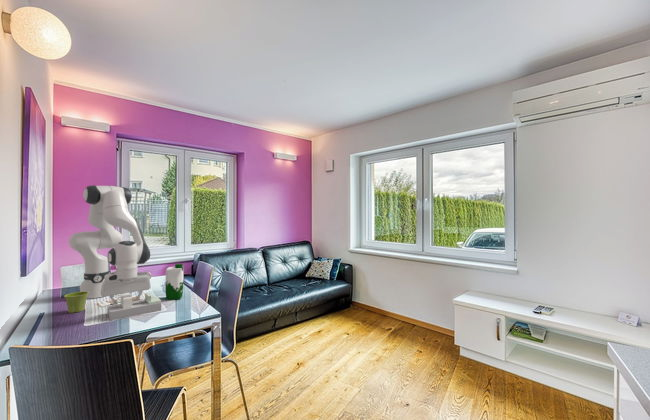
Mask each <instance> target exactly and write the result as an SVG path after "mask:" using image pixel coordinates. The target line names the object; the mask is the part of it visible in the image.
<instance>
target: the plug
mask: <svg viewBox="0 0 650 420" xmlns="http://www.w3.org/2000/svg"><path fill="white" fill-rule="evenodd" d="M132 298H133V296H132V295H131V293H130V294H129V293H125V294H120V304H121V306H122V307H123V309H125V308H130V307H132Z"/></svg>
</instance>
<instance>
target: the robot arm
mask: <svg viewBox="0 0 650 420" xmlns="http://www.w3.org/2000/svg"><path fill="white" fill-rule="evenodd" d="M82 197H83V199H84V202H86V203H87V204H89V205H90V206H89V213H88V219H87V220H88V223H89V224H90V226H92V227H95V228H97V229H98V230H97V231H95V230H94V231H81V232H76V233H75V232H74V233H72V235H70V237H69V239H68V245H69V246H70V248H71V249H72V250H74V251H76V252H77V253H79V254H80V255H81V257H82V258H83V261H84V274H83V282H81V283H80V285H79V292H89V293H88V295H87V297H86V300H88V299H90V300H91V299H98V298H103V297H105V298H106V297H109V298H110V299H111V301H112V305H116V304H117V303H118V300H117V299H115V296H117V295H126V294H129V293H130V294H131V293H137V292H138V295H136V296H135V297H136V300H138V301H139V300H141V299H140V298H141V295H143V291H149V290H150V289H151V278H152V274H151V273H150V272H148V271H144V272H139V271H138V267H139V266H138V265H143V264H145V263H147V262H148V261H149V260H150V258H151V252H150V248H149V246H148V244H147V242H146V240H145V237H144V234H143V232H142V228H141V226H140V224H139V221H138V220H137V218H135V217H134V216H132V215H131V213H130V212H129V208H128V204H129V203H131V201H132V198H133V195H132V191H131V189H130V188H128V187H125V186H114V185H96V184H94V185H93V184H92V185H87V186H86V187H85V188H84V191H83V193H82ZM115 227H116V228H120V229H124V230H126V231H128V232H129V233H130V234H131V237H132V239H133V241H132V240H124V237H123V234H122V233H121V232H120V231H119V230H117V229H116V228H115ZM104 249H110V250H108V252H107V256H105V255H103V254H100V253H98V251H97V250H104ZM109 265H111V266H115V271H113V272H110V271H109Z"/></svg>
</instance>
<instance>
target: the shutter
mask: <svg viewBox="0 0 650 420" xmlns="http://www.w3.org/2000/svg"><path fill="white" fill-rule="evenodd" d="M144 300H145V301H146V302H147V303H148V304H153V303H159V302H161V303H162V300H161V299H160V298H159V297H158V296H152V295H151V294H150V293H148V292H145V293H144Z"/></svg>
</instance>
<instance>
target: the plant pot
mask: <svg viewBox="0 0 650 420" xmlns="http://www.w3.org/2000/svg"><path fill="white" fill-rule="evenodd" d="M88 293H89V292H80V291H76V292H70V293H67V294H65V295H64V296H63V298H64V299H65V301H66V306H67V312H68V313H70V314H74V313H80V312H82V311H84V310H85V309H86V302H87V299H86V297H87V295H88Z"/></svg>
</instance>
